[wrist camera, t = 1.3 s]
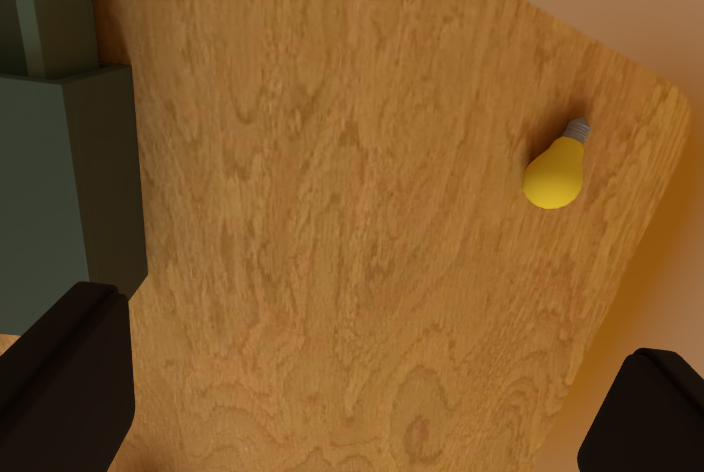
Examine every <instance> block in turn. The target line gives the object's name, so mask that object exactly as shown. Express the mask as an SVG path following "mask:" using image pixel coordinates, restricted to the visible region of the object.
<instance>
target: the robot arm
mask: <svg viewBox="0 0 704 472" xmlns="http://www.w3.org/2000/svg"><path fill="white" fill-rule="evenodd" d="M134 414H135V394H134V380H133V365H132V350H131V335H130V320H129V305H128V298H127V296H126V295H125V294H119V291H118V288H117V287H116V286H115V285H112V284H103V283H95V282H86V281H79V282H77V283H76V284H74V285H73V286H72V287H71V288H70V289H69V290H68V291H67V292H66V293H65V294H64V295H63V296H62V297H61V298H60V299H59V300H58V301H57V302H56V303H55V304H54V305H53V306H52V307H51V308H50V309H49V310H48V311H47V312H46V313H45V314H44V315H43V316H41V317H40V318H39V319H38V320H37V321H36V322H35V323H34V324H33V325H32V326H31V327H30V328H29V329H28V330H27V331H26V332H25V333H24V334H23V335H22V336H21V337H20V338H19V339H18V340H17V341H16V342H15V343H14V344H13V345H12V346H11V347H10V348H9V349H8V350H7V351H5V352H4V353H3V354H2V355H1V356H0V472H107V470H108V468H109V466H110V465H111V463H112V461H113V459H114V457H115V455H116V453H117V451H118V450H119V448H120V446H121V444H122V442H123V440H124V438H125V436H126V435H127V433H128V431H129V429H130V427H131V424H132V421H133V418H134ZM577 462H578V467H579V470H580V472H704V379H703V378H701V376H700V375H699V374H697V372H695V370H694V369H692V368H691V366H690V365H689V364H688V363H687V362H686V361H685V360H684V359H683V358H682V357H681V356H680V355H678V354H677V353H676V352H672V351H667V350H659V349H650V348H639V349H637V350H636V351H635V352H634V353H633V354H632V355H629V356H627V357H626V359H625V360H624V362H623V365H622V366H621V369H620V370H619V372H618V374H617V376H616V378H615V380H614V382H613V384H612V386H611V388H610V390H609V392H608V394H607V396H606V398H605V400H604V402H603V404H602V406H601V408H600V410H599V411H598V414H597V416H596V417H595V419H594V421H593V423H592V425H591V427H590V429H589V431H588V433H587V435H586V437H585V439H584V441H583V443H582V445H581V447H580V449H579V452H578V456H577Z"/></svg>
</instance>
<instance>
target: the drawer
mask: <svg viewBox="0 0 704 472" xmlns="http://www.w3.org/2000/svg"><path fill="white" fill-rule="evenodd" d="M97 69H100V68H99V59H98V50H97V40H96V31H95V21H94V12H93V3H92V0H0V73H2V74H10V75H18V76H26V77H34V78H41V79H49V80H56V79H60V78H64V77H68V76H72V75H77V74H81V73H85V72H89V71H93V70H97Z"/></svg>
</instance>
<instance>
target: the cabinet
mask: <svg viewBox="0 0 704 472" xmlns="http://www.w3.org/2000/svg"><path fill="white" fill-rule="evenodd" d="M99 68H100V69H97V70H93V71H89V72H85V73H81V74H77V75H72V76H68V77H64V78H60V79H56V80H49V79H41V78H34V77H26V76H18V75H10V74H2V73H0V334H8V335H20V336H22V335H23V334H24V333H25V332H26V331H27V330H28V329H29V328H30V327H31V326H32V325H33V324H34V323H35V322H36V321H37V320H38V319H39V318H40V317H41V316H43V315H44V314H45V313H46V312H47V311H48V310H49V309H50V308H51V307H52V306H53V305H54V304H55V303H56V302H57V301H58V300H59V299H60V298H61V297H62V296H63V295H64V294H65V293H66V292H67V291H68V290H69V289H70V288H71V287H72V286H73V285H74V284H76V283H77V282H79V281H86V282H95V283H103V284H112V285H115V286H116V287H117V288H118V291H119V294H125V295H126V296H127V298H128V301H129V300H130V299H131V297H132V296H133V295H134V293H135V292H136V290H137V289H138V288H139V286H140V285H141V284H142V282H143V281H144V280H145V278H146V277H147V275H148V273H147V261H146V248H145V235H144V222H143V209H142V196H141V183H140V170H139V157H138V144H137V131H136V118H135V106H134V93H133V80H132V67H131V66H129V65H121V64H113V63H106V62H99Z"/></svg>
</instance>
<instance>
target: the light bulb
mask: <svg viewBox="0 0 704 472" xmlns="http://www.w3.org/2000/svg"><path fill="white" fill-rule="evenodd" d="M590 130H591V128H590V126H589V124H588V122H587V119H585V118H583V117H579V118H577V119H574V120H571V121H569V122H568V125H567V127H566V128H565V130H564V133H563V134H562V137H560V138H558V139H556V140H554V142H553V143H552V145H551V146H550V147H549V149H547V150H546V151H545V152H543V153H542V154H541V155H539V156H538V157H537V158H535V159H534V160H533V161H532V162H531V163H530V164H529V165H528V166H527V168H526V169H525V171H524V174H523V177H522V188H523V191H524V194H525V196H526V197H527V198H528V199H529V200H530V202H532V203H533V204H535V205H537V206H538V207H542V208H545V209H553V208H560V207H562V206H565V205H567V204H569V203H570V202H571V201H573V200H574V199H575V198H576V196H577V195H578V194H579V192H580V190H581V187H582V184H583V170H582V158H583V155H584V152H585V149H584V146H583V143H584V142H585V139H586V137H587V136H588V134H589V131H590Z"/></svg>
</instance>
